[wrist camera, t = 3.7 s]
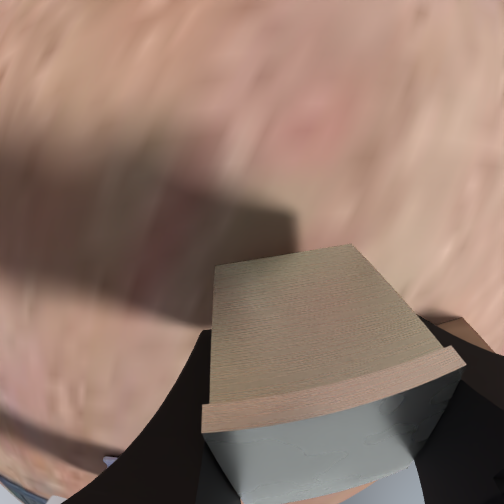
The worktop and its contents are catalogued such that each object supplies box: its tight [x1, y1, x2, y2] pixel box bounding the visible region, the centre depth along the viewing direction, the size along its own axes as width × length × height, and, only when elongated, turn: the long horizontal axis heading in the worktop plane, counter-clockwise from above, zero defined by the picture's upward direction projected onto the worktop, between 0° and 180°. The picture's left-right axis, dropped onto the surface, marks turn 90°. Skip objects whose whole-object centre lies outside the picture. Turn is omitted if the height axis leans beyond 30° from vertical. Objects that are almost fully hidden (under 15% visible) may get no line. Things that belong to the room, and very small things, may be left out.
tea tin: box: [201, 244, 466, 504], centre depth 8 cm, size 5×5×6 cm
